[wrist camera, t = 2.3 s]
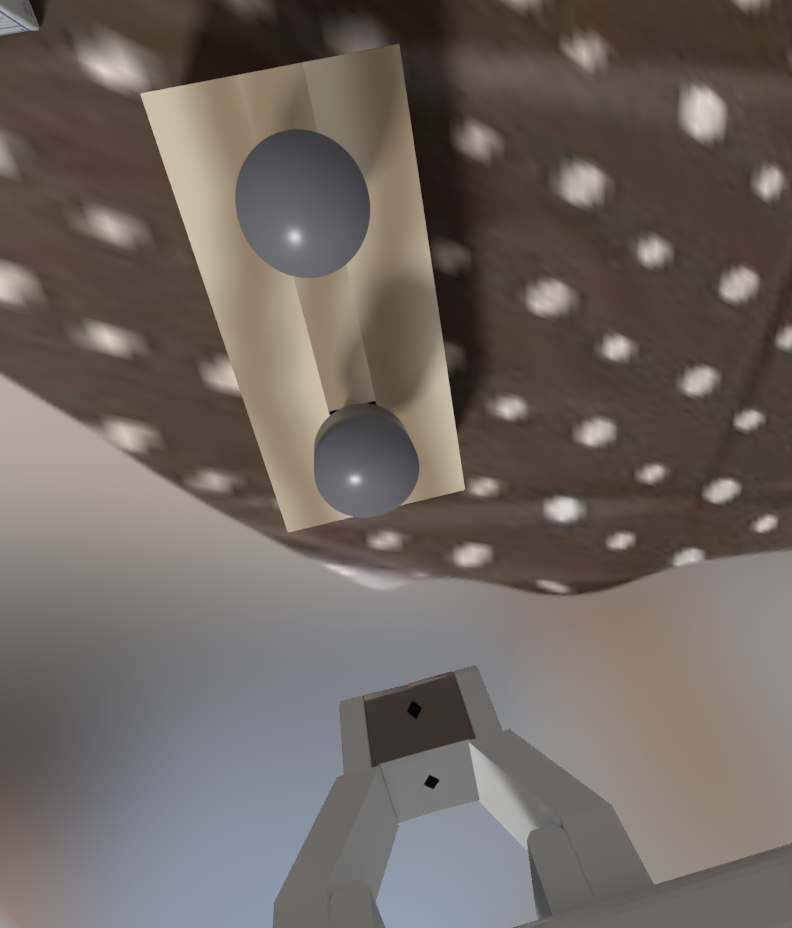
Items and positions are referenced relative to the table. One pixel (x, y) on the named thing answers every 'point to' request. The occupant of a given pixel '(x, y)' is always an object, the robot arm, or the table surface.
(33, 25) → the medicine box
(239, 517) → the table surface
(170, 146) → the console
